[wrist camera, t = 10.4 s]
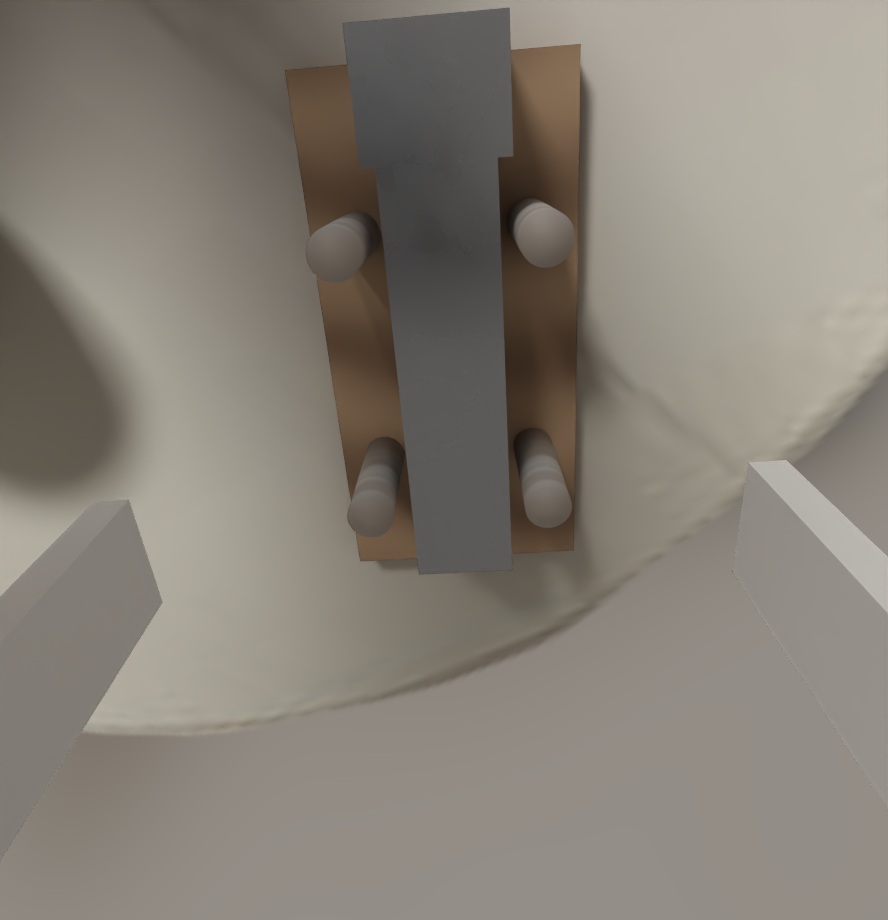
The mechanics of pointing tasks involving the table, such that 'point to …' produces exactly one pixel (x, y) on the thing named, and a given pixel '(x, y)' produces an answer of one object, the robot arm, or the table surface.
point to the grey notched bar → (443, 263)
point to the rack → (524, 302)
